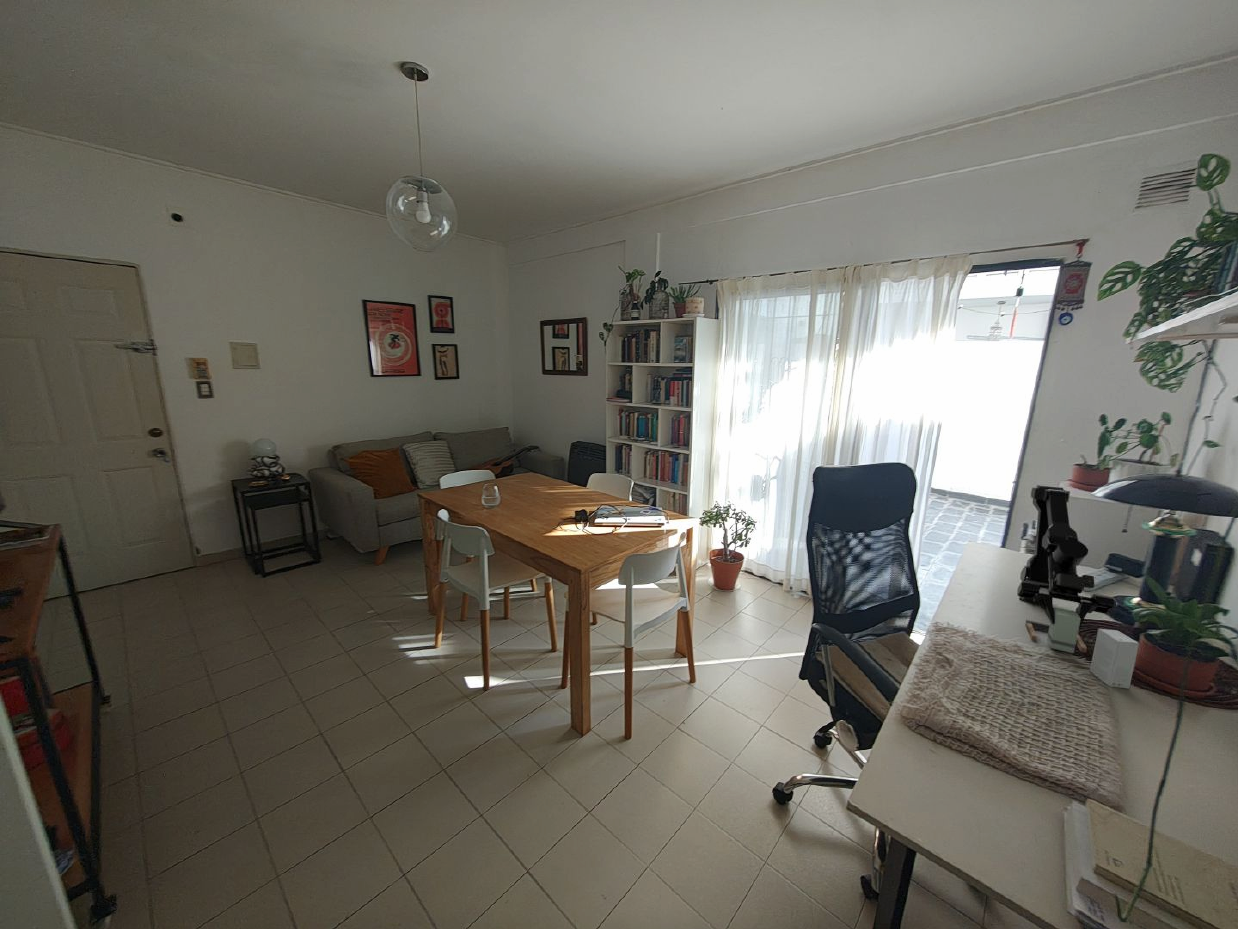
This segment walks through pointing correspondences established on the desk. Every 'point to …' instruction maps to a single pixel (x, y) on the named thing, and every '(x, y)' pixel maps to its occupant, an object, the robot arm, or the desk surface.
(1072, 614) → the block
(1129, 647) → the skincare box
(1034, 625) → the walnut guide
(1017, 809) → the desk surface
